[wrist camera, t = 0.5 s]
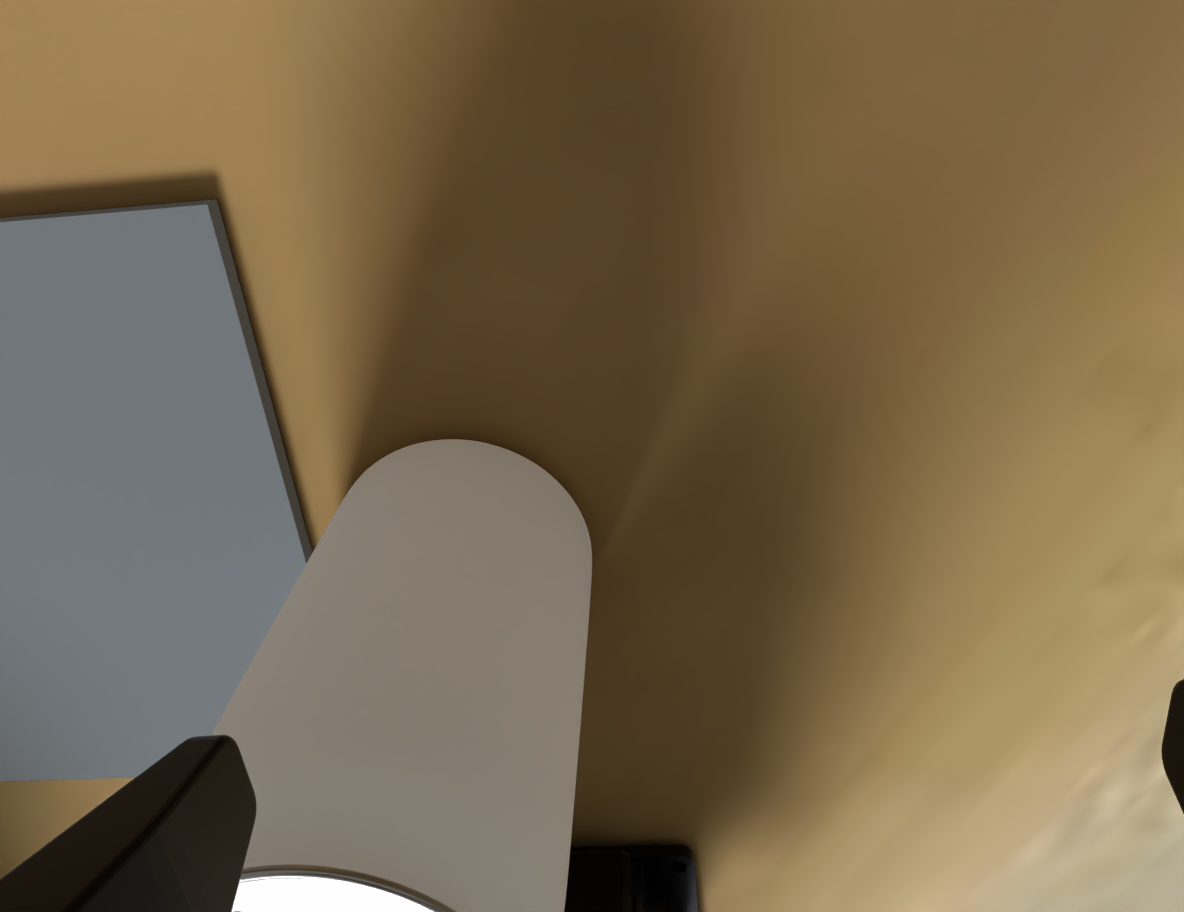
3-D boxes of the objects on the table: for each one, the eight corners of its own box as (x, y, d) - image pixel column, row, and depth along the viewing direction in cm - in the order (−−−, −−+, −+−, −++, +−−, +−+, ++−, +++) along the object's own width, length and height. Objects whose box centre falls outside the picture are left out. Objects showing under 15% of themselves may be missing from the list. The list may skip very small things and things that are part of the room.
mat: (367, 756, 27) (362, 769, 27) (-85, 772, 29) (-96, 785, 28) (216, 199, 20) (207, 204, 20) (-382, 251, 21) (-404, 257, 21)
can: (517, 683, 26) (432, 1183, 15) (299, 577, 25) (40, 1043, 14) (642, 510, 23) (644, 971, 13) (406, 382, 22) (184, 775, 11)
